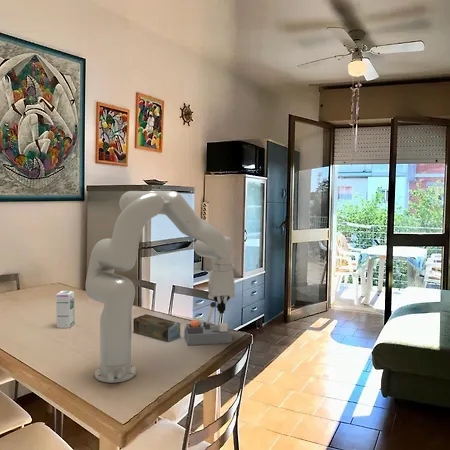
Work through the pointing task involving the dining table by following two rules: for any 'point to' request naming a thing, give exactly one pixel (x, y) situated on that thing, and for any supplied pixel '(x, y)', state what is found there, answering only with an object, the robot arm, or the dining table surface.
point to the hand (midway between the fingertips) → (221, 312)
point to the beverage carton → (156, 327)
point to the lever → (210, 312)
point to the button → (194, 323)
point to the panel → (206, 335)
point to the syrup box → (65, 309)
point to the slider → (222, 327)
